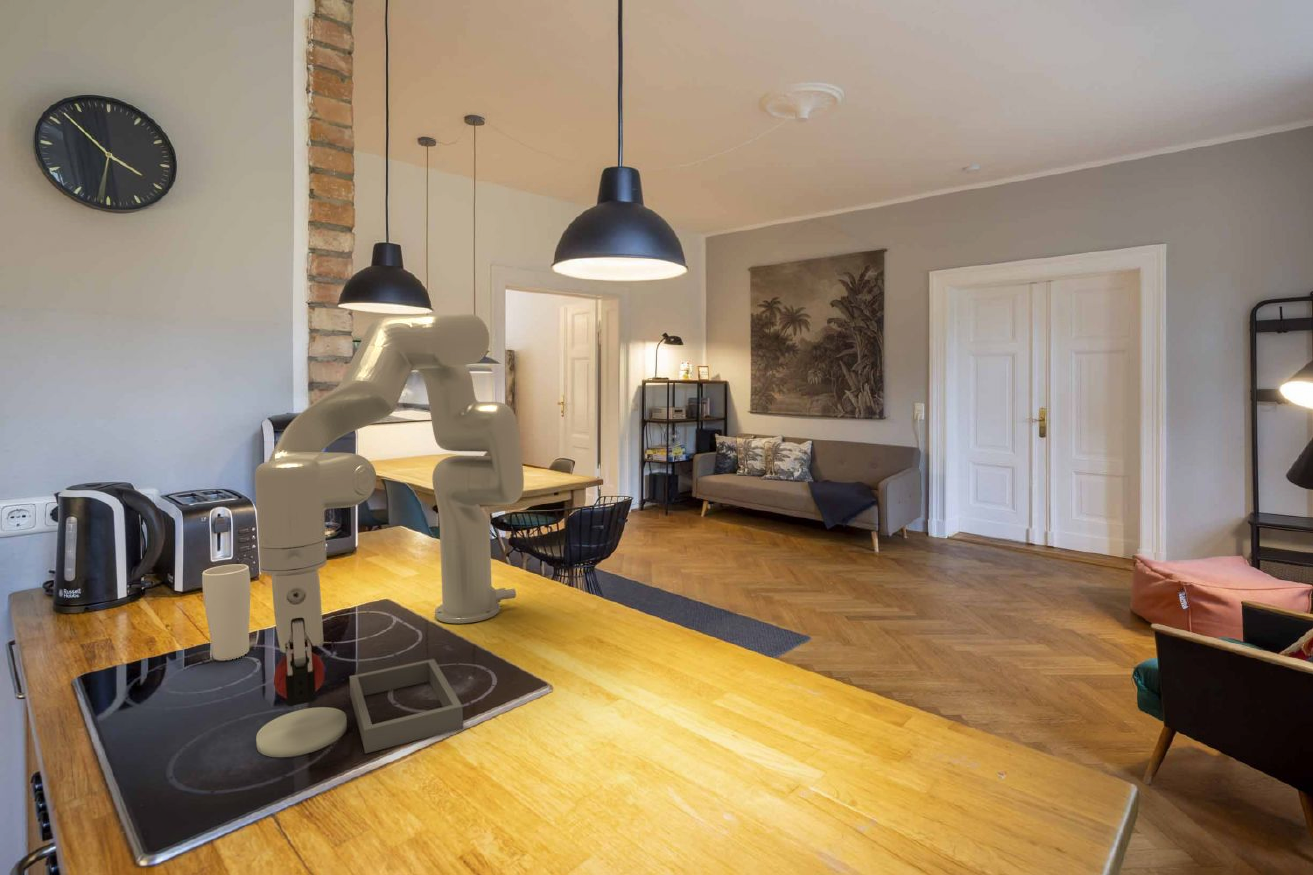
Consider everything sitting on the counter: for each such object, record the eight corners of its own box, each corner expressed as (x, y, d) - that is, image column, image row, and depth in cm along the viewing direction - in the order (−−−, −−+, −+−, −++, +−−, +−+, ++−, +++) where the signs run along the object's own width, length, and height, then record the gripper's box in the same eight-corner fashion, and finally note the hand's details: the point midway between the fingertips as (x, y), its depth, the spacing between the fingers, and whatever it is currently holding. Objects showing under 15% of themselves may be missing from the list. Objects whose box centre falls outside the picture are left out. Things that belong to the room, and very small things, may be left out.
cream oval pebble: (343, 708, 94) (342, 700, 94) (350, 742, 85) (350, 733, 85) (257, 728, 89) (256, 719, 89) (255, 766, 80) (255, 756, 80)
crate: (434, 677, 104) (433, 658, 104) (463, 727, 89) (462, 706, 88) (350, 695, 98) (349, 676, 98) (365, 753, 83) (364, 730, 83)
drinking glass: (231, 665, 110) (226, 575, 109) (197, 662, 111) (191, 573, 110) (263, 649, 116) (258, 564, 115) (230, 646, 118) (225, 563, 117)
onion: (274, 717, 83) (270, 655, 82) (276, 698, 88) (273, 639, 88) (326, 707, 86) (323, 646, 85) (325, 689, 91) (322, 631, 90)
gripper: (331, 567, 80) (338, 713, 81) (321, 539, 95) (327, 663, 96) (258, 576, 76) (266, 729, 78) (260, 546, 91) (267, 674, 92)
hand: (300, 691), depth 87 cm, fingers closed on onion, 5 cm apart
